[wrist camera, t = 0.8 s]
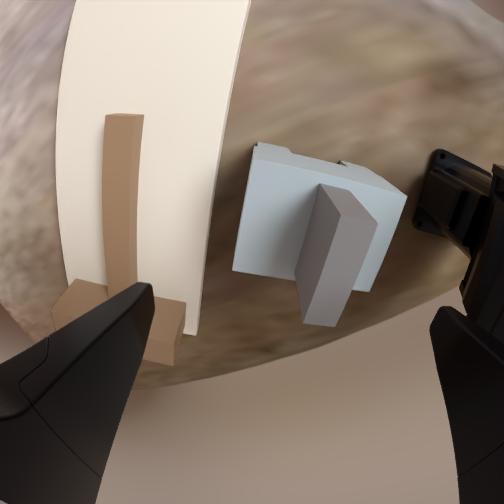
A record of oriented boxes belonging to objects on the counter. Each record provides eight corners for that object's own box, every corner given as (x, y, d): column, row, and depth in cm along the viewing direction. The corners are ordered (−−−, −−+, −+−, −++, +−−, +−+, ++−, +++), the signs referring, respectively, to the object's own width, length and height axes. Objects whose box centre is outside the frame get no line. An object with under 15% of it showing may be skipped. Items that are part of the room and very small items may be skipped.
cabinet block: (369, 168, 19) (447, 229, 10) (344, 244, 22) (390, 339, 13) (254, 141, 18) (250, 181, 9) (238, 224, 21) (224, 321, 12)
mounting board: (252, -4, 13) (249, -42, 8) (198, 324, 26) (186, 376, 20) (87, 0, 12) (40, -18, 7) (79, 297, 25) (51, 339, 20)
